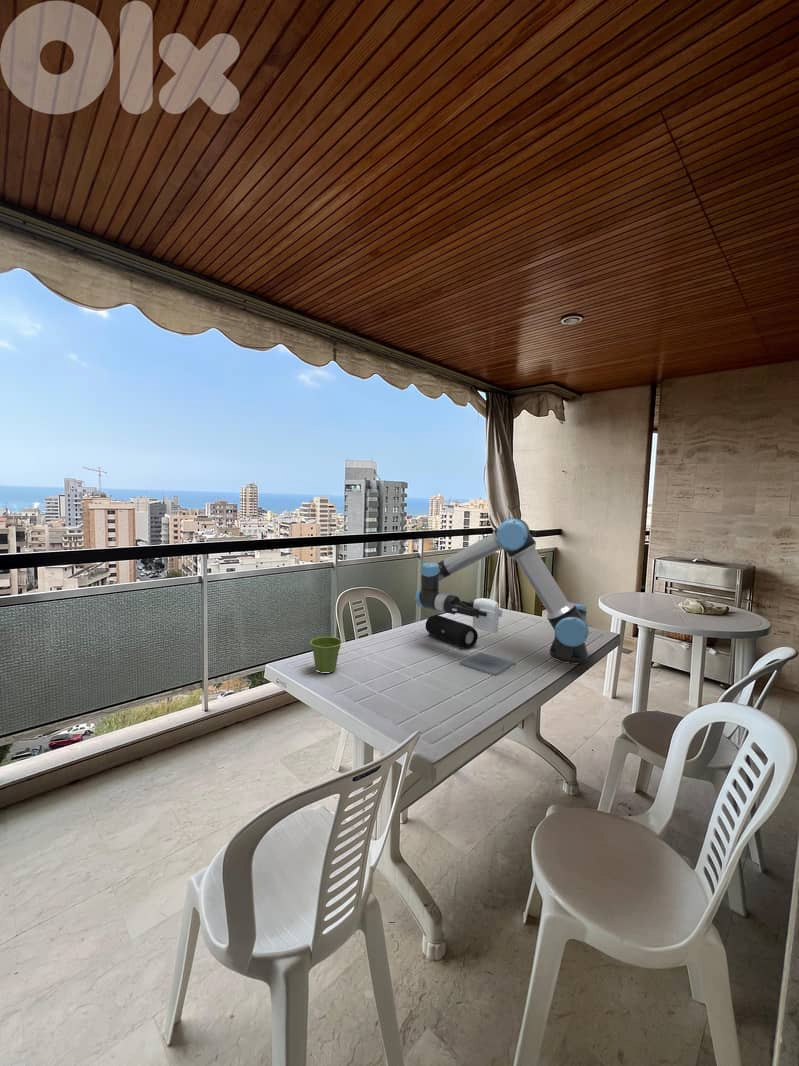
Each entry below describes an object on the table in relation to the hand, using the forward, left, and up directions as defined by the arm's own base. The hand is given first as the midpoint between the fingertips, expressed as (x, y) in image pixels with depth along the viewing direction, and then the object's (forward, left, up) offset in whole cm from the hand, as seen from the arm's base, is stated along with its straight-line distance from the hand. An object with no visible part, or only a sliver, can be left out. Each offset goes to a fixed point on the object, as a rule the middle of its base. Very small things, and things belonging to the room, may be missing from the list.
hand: (498, 614), depth 166 cm
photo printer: (+5, 0, -7) cm, 9 cm away
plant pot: (+45, +47, -22) cm, 68 cm away
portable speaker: (+32, -15, -22) cm, 42 cm away
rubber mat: (+5, -2, -22) cm, 22 cm away
